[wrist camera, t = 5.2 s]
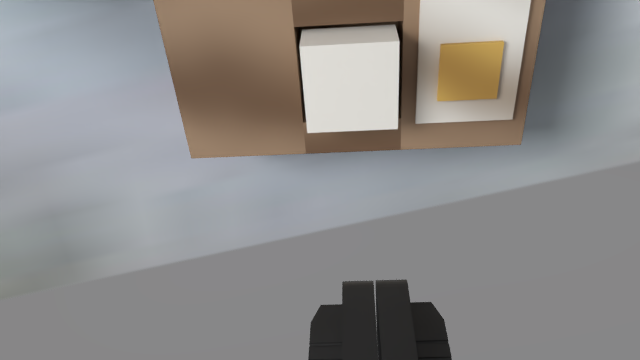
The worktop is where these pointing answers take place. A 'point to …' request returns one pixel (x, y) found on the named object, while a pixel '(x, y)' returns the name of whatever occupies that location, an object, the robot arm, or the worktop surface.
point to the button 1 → (350, 78)
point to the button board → (349, 11)
